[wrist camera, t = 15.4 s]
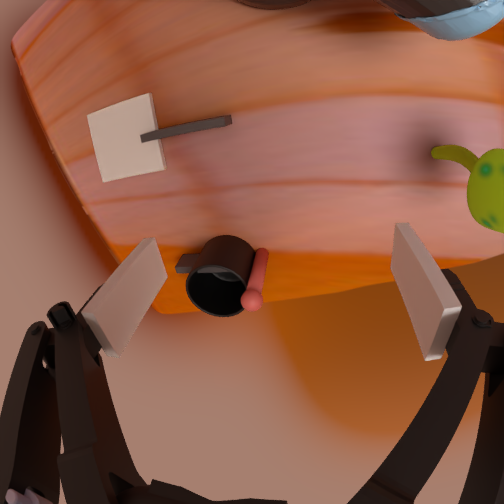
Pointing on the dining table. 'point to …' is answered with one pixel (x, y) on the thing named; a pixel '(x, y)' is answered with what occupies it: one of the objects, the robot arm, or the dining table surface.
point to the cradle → (250, 297)
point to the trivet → (126, 139)
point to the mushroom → (481, 182)
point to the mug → (221, 276)
